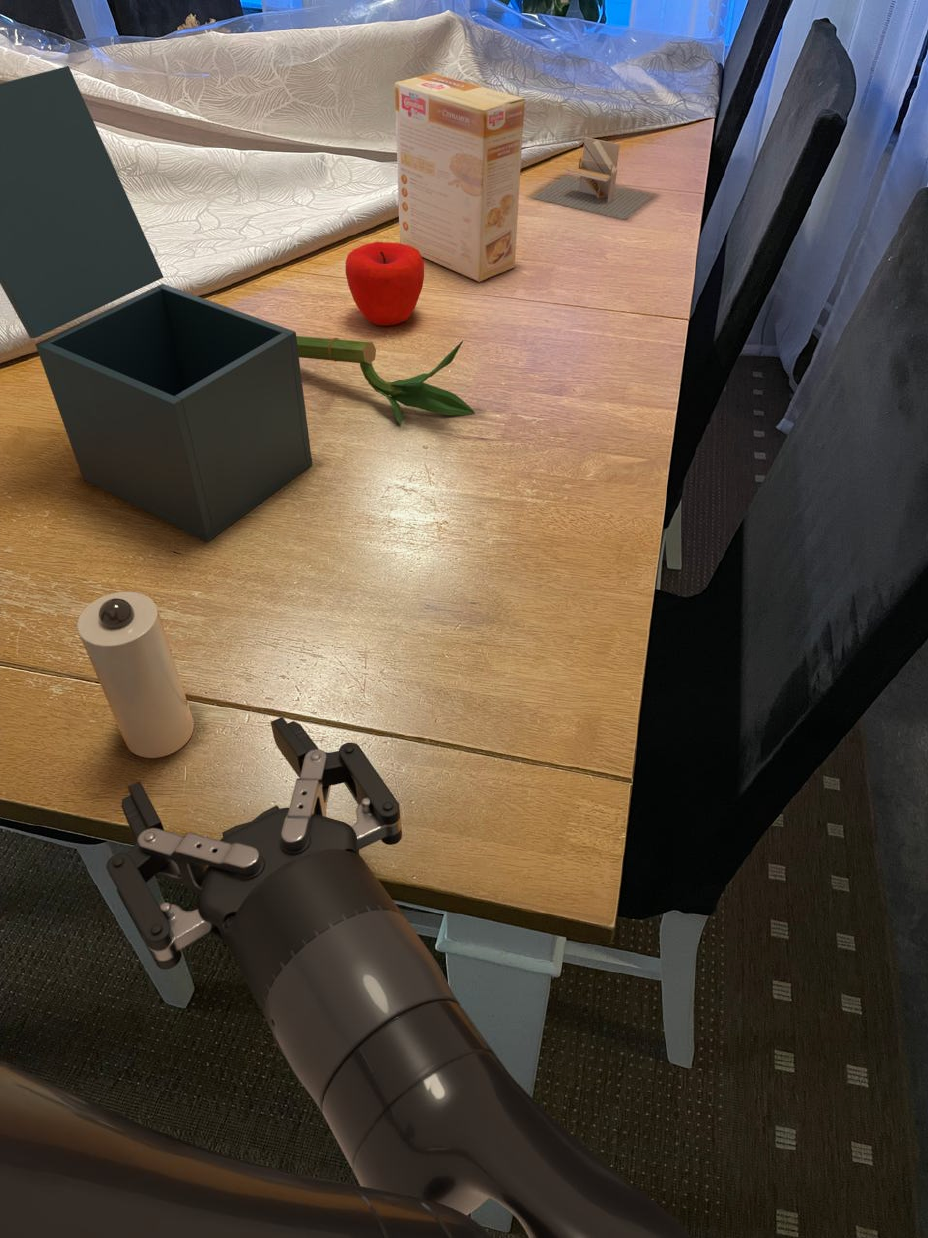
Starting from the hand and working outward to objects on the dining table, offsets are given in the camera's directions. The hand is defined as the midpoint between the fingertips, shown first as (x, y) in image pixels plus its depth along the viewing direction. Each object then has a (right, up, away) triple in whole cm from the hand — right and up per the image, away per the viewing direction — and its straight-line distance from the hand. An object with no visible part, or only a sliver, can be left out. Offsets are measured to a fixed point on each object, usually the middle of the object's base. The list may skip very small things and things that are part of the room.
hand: (209, 760), depth 50 cm
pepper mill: (-6, +1, +9) cm, 11 cm away
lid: (-18, +41, +19) cm, 48 cm away
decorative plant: (+1, +32, +41) cm, 53 cm away
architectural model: (+34, +71, +81) cm, 113 cm away
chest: (-10, +22, +30) cm, 39 cm away
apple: (+6, +43, +52) cm, 68 cm away
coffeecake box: (+14, +55, +65) cm, 86 cm away
